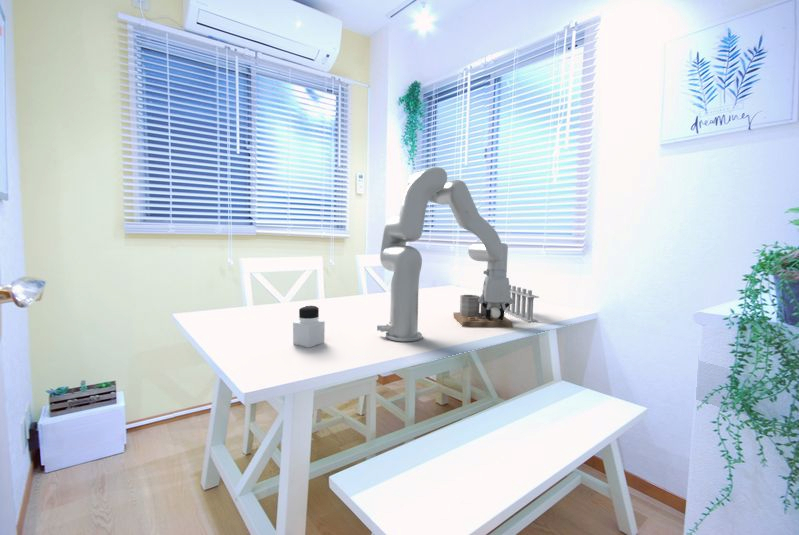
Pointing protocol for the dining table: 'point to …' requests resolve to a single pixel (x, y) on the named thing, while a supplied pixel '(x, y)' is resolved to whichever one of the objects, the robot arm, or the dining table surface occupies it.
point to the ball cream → (495, 313)
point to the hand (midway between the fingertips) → (494, 318)
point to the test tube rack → (529, 304)
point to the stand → (478, 314)
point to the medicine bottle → (308, 327)
